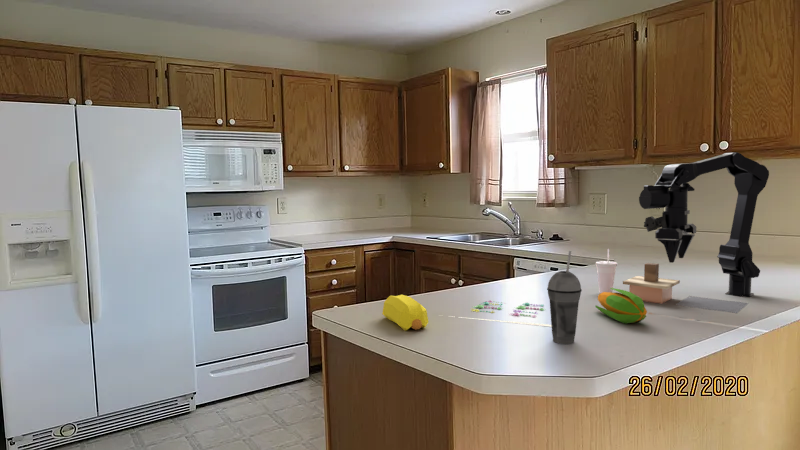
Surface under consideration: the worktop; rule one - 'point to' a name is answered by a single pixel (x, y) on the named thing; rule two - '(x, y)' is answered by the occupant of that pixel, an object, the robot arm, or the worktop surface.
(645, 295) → the open box
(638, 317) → the corn
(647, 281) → the lid
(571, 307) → the beverage cup
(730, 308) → the mat
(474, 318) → the printed paper
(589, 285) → the worktop surface
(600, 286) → the smoothie
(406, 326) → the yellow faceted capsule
